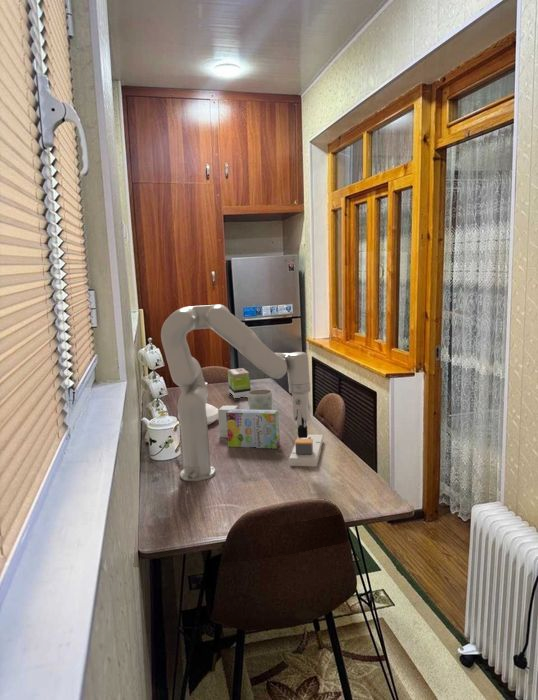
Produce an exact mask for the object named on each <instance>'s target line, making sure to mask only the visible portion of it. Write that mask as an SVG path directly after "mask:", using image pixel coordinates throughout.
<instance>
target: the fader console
mask: <svg viewBox="0 0 538 700" xmlns="http://www.w3.org/2000/svg"><path fill="white" fill-rule="evenodd" d="M296 439H313V453H312V454H296V444H295V443H294V446H293V448H292V451H291V453H290V456H289V466H290V467H318V464H319V459H320V457H321V451H322V447H323V443H324V435H323V434H308V436H307V438H298V437H297V438H296Z"/></svg>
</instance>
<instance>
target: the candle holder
mask: <svg viewBox="0 0 538 700" xmlns="http://www.w3.org/2000/svg"><path fill="white" fill-rule="evenodd" d="M205 384H206V386H207V385H208V382H206V381H205ZM218 410H219V408H217V407H215V405H212V404H209V403H208V402H207V403H206V417H207V426H208V425H211V424H212V423H214V422H215V421H216V420H217V419H219V416H218ZM177 417H178V421H179V422H180V420H179V414H177Z"/></svg>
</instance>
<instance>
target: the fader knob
mask: <svg viewBox="0 0 538 700" xmlns="http://www.w3.org/2000/svg"><path fill="white" fill-rule="evenodd" d="M295 444H296V454H312V453H313V439H297V438H296V439H295V442H294V445H295Z"/></svg>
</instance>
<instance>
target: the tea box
mask: <svg viewBox="0 0 538 700" xmlns="http://www.w3.org/2000/svg"><path fill="white" fill-rule="evenodd" d="M250 376H251V375H250V372H249V371H248V370H246V369H245V368H243V367H241V368H240V367H239V368H233V369H232V368H231V369H227V378H228V379H227V380H228V393H229V392H230V393H231V394H232V395H233V396H232V395H231V394H230V393H229V394H230V395H231V396H232V398H233V399H235V398H238V397H246V396H248V392H249V391H251V390H252V388H251V378H250Z"/></svg>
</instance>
